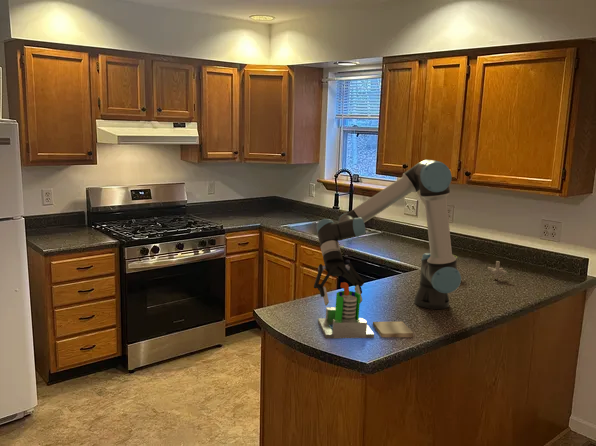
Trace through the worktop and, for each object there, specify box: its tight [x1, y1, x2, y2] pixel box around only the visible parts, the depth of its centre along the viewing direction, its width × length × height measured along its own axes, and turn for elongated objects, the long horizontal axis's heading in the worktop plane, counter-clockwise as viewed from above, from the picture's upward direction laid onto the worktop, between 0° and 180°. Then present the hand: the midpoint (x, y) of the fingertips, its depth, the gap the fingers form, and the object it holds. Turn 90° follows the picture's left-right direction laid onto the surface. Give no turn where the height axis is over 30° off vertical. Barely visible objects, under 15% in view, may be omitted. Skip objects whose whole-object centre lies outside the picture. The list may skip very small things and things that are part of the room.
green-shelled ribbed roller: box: [335, 281, 361, 320], centre depth 199 cm, size 9×8×18 cm
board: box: [372, 320, 414, 338], centre depth 201 cm, size 12×12×2 cm
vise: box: [317, 306, 375, 339], centre depth 202 cm, size 18×21×6 cm
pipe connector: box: [487, 260, 508, 279], centre depth 278 cm, size 10×10×10 cm
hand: (343, 303), depth 199 cm, fingers open, 13 cm apart
